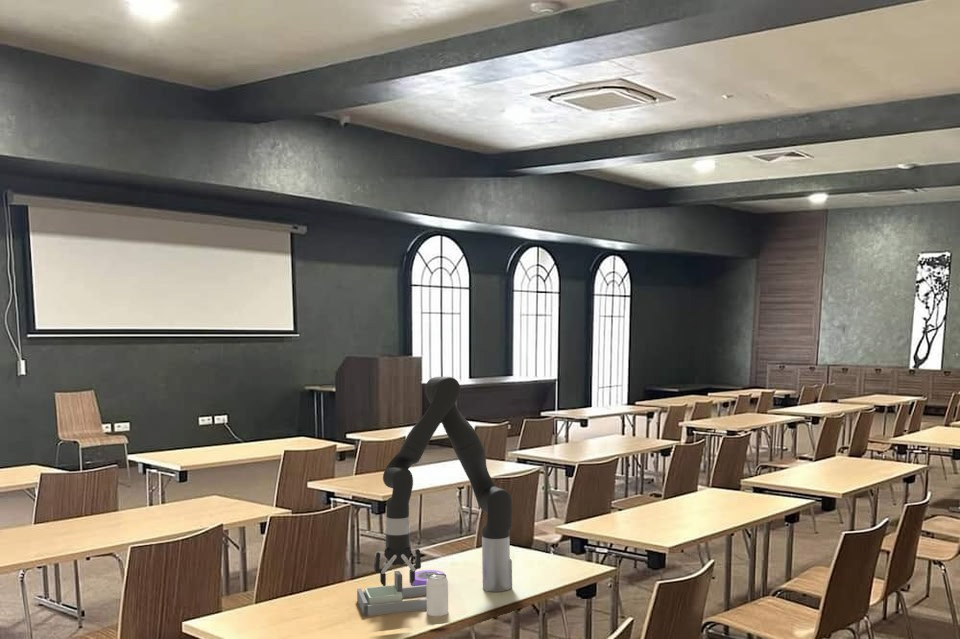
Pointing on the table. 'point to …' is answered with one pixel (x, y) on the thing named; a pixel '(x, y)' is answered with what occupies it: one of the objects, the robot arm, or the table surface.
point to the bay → (394, 606)
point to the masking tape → (423, 577)
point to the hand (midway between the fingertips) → (397, 584)
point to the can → (437, 594)
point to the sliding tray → (385, 592)
